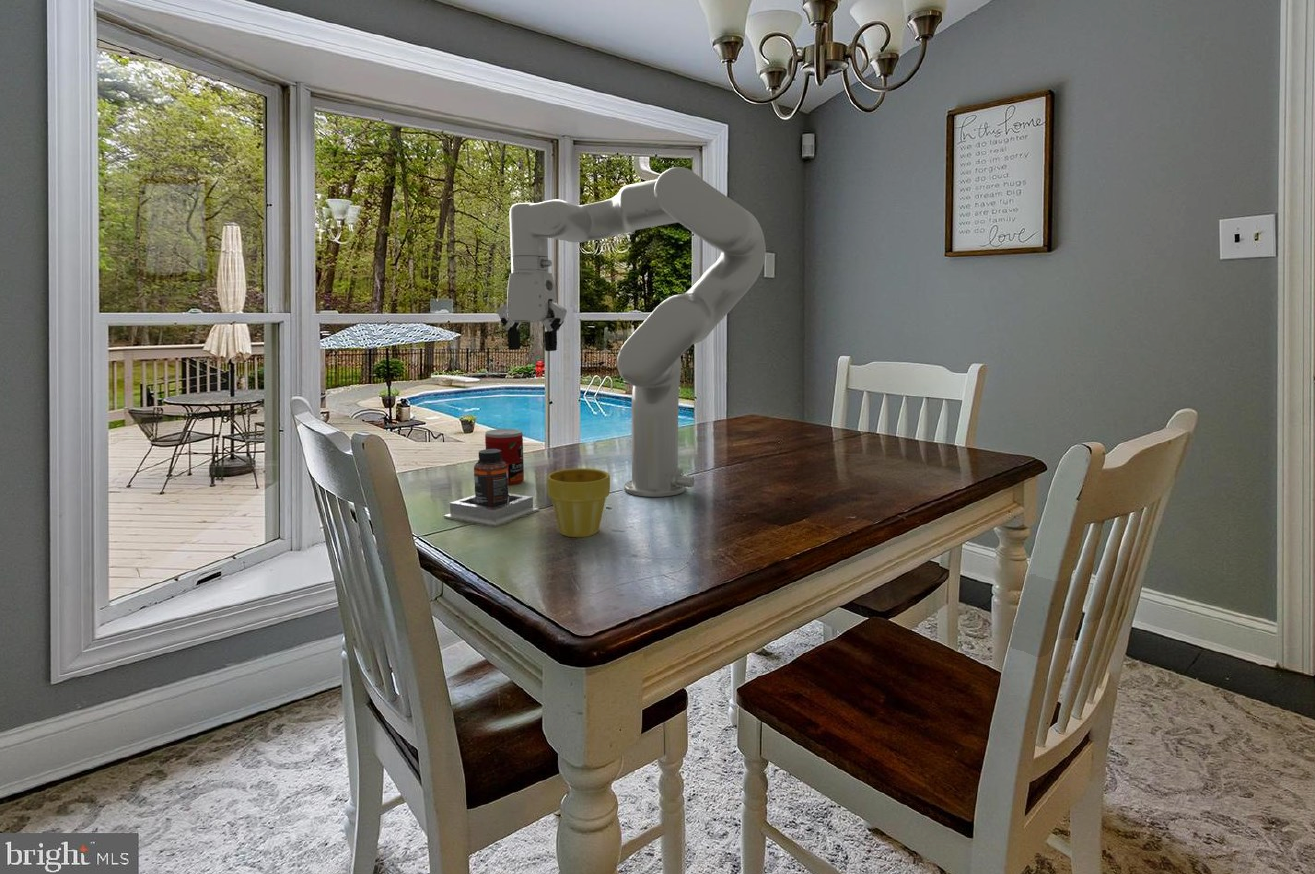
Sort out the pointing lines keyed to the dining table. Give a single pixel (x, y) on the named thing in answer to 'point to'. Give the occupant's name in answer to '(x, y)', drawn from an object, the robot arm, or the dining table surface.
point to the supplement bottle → (491, 479)
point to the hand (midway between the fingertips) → (532, 350)
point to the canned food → (508, 451)
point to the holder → (491, 510)
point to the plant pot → (578, 499)
